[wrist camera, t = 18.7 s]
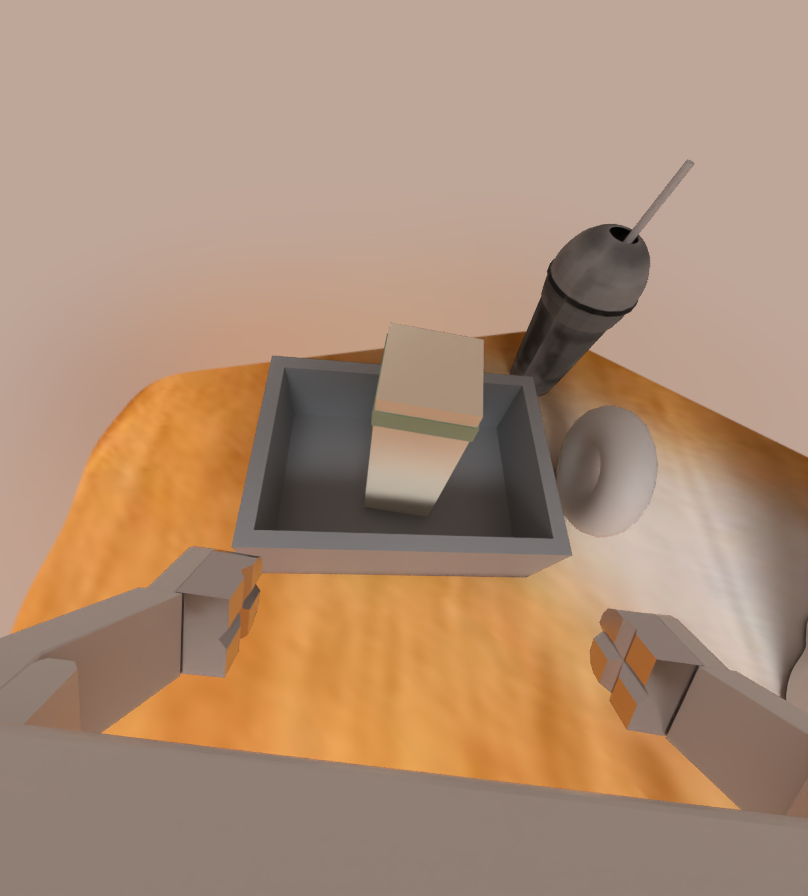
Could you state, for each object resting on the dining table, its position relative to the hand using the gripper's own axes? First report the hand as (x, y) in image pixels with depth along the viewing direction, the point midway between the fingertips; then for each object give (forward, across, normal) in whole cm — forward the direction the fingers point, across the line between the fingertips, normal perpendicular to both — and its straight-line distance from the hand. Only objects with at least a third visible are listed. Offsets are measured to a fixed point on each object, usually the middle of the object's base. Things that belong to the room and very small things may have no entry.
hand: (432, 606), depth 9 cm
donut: (+24, -15, +5) cm, 28 cm away
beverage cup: (+33, -12, -4) cm, 35 cm away
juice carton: (+21, 0, +5) cm, 22 cm away
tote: (+22, 0, +6) cm, 23 cm away
